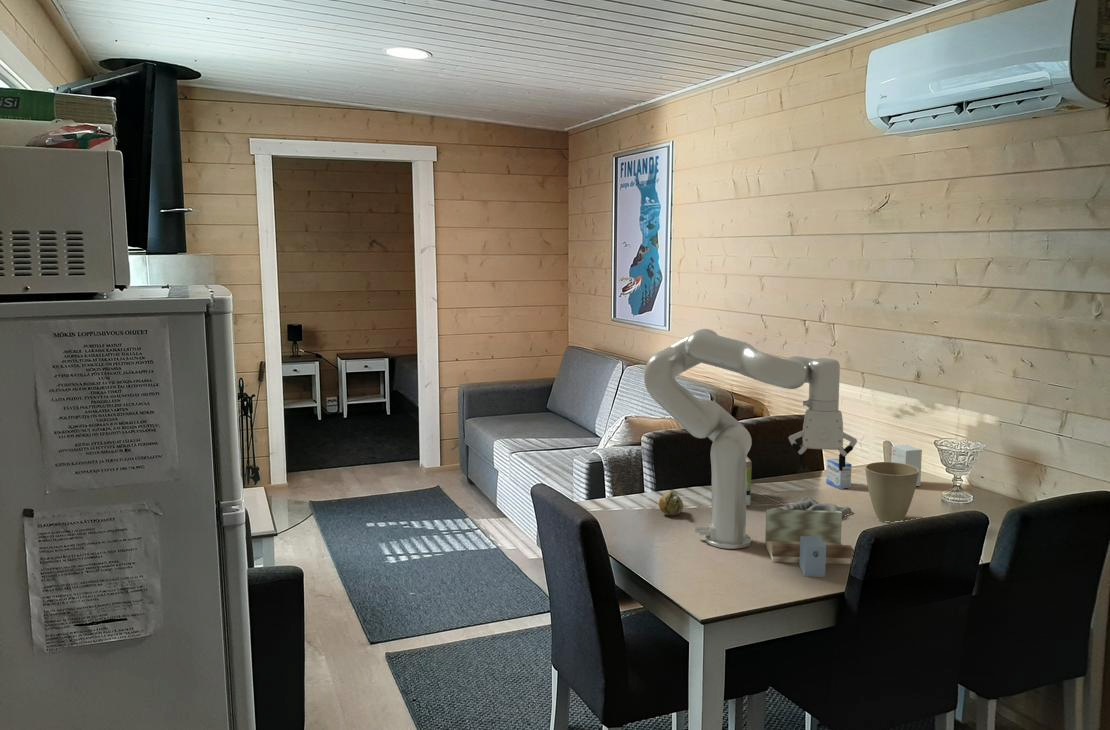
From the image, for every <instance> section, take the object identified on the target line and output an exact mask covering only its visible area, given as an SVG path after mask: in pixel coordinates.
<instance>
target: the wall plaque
mask: <svg viewBox="0 0 1110 730" xmlns="http://www.w3.org/2000/svg"><path fill="white" fill-rule="evenodd" d="M769 510H816V511H841V512H842V518H844V517H843V516H845V515H847V514H851V513H853V511H852V508H851V507H849V506H848V505H847V506H837V505H836V504H834V503H828V502H827V503H826V502H822V503H820V502H818V501H817V500H816V499H814V498H812V497H810V496H805V497H803V498H802V499H801V500H800V501H796V502H792V503H788V504H787V503H786V504H785V505H783V506H779V507H773V508H770V509H769ZM851 515H852V514H851ZM847 516H848V515H847ZM845 517H846V516H845Z"/></svg>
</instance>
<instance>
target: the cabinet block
mask: <svg viewBox="0 0 1110 730" xmlns="http://www.w3.org/2000/svg"><path fill="white" fill-rule="evenodd" d="M826 565H827V563H826V545H825V544H824V542H823V540H822V539H821V537H815V536H800V562H799V567H800V570H801V572H802V575H803V576H804V577H816V578H817V577H819V578H821V577H822V578H826Z"/></svg>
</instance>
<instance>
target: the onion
mask: <svg viewBox="0 0 1110 730" xmlns="http://www.w3.org/2000/svg"><path fill="white" fill-rule="evenodd" d="M658 507H659V510H660V511H661V512H662V513H663V514H664V515H665V516H669V515H674V516H677V515H679V514H681V513H682V511H683V509H684V502H683V500H682V499H681V497H680V496H679V494H678V493H677V492H675V491H672V490H670V491H669V492H667V493H665V494H663V495H662V496H661V497H660V498H659V500H658Z"/></svg>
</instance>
